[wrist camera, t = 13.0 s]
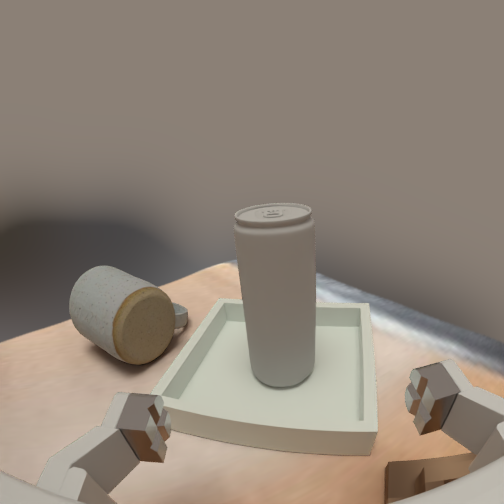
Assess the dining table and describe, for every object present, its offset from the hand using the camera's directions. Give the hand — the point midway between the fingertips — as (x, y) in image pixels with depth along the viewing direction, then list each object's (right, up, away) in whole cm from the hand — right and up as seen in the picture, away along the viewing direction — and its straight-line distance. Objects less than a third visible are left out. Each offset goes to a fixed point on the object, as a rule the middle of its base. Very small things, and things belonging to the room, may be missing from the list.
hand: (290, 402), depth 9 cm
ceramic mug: (-12, -4, +20) cm, 23 cm away
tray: (+1, -5, +14) cm, 15 cm away
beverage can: (+1, -4, +14) cm, 14 cm away
